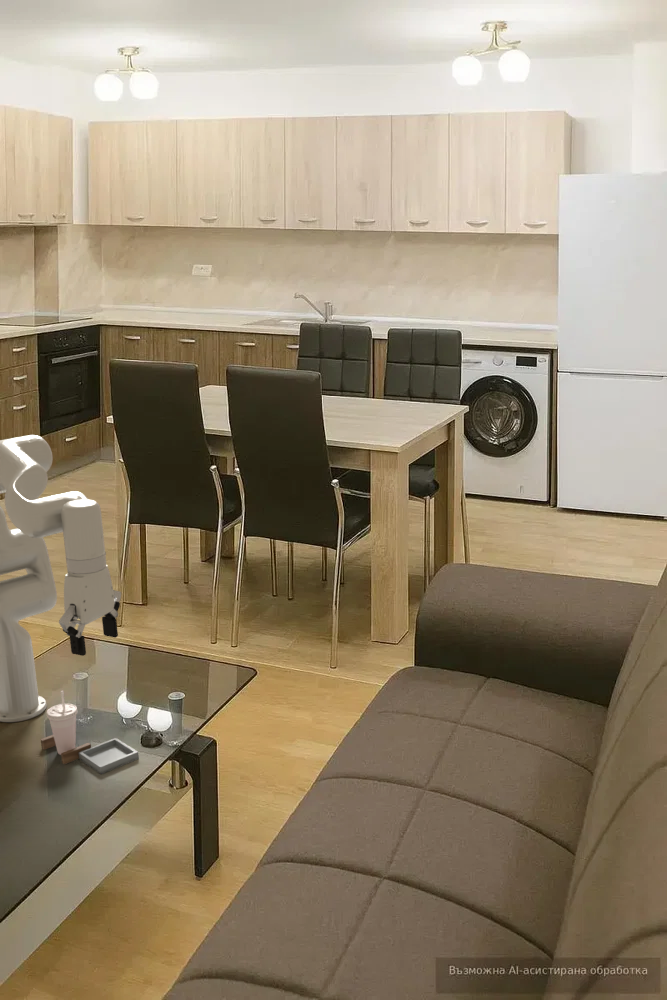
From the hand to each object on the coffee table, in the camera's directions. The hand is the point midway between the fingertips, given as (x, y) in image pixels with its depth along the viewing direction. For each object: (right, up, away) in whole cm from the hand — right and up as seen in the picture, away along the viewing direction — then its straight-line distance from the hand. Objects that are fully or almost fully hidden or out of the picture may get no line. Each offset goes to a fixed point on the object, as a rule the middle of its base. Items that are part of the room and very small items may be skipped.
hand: (95, 645), depth 219 cm
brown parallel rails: (-10, -25, +18) cm, 32 cm away
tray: (0, -26, +13) cm, 29 cm away
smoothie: (-10, -25, +18) cm, 32 cm away
